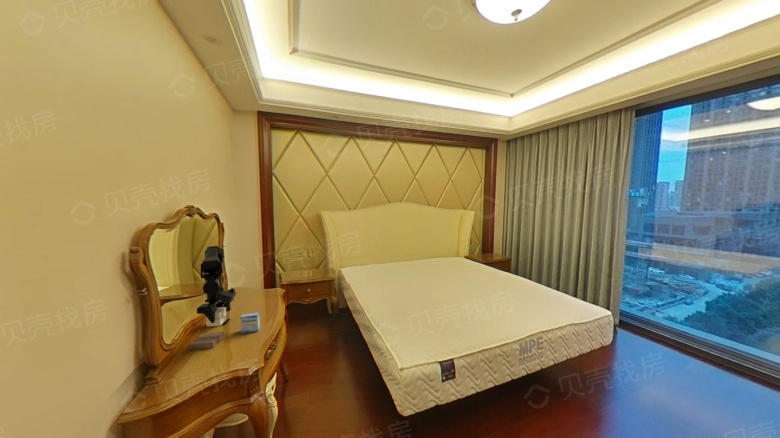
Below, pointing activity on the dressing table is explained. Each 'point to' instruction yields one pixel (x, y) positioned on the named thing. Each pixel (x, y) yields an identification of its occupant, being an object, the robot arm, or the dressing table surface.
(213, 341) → the walnut block
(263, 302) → the dressing table surface
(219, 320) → the maple cube
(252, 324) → the medicine box
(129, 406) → the dressing table surface
